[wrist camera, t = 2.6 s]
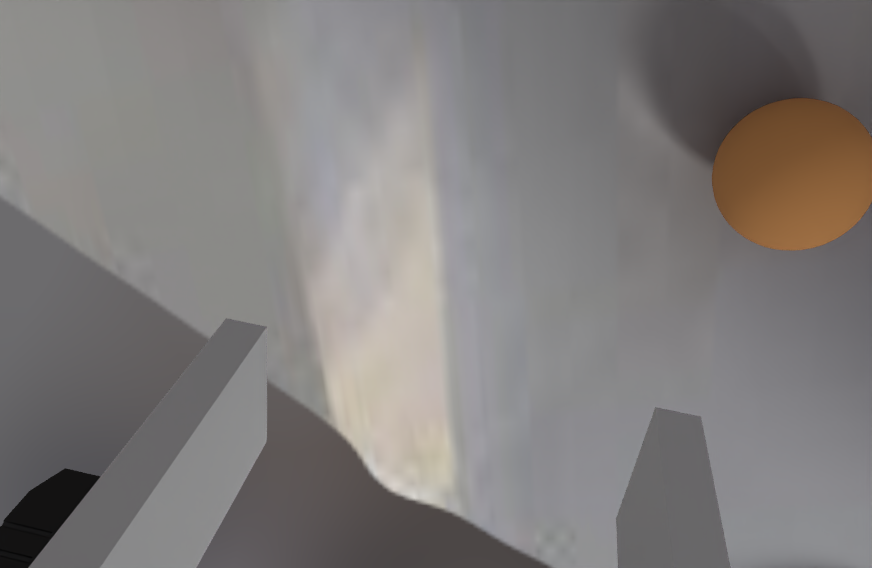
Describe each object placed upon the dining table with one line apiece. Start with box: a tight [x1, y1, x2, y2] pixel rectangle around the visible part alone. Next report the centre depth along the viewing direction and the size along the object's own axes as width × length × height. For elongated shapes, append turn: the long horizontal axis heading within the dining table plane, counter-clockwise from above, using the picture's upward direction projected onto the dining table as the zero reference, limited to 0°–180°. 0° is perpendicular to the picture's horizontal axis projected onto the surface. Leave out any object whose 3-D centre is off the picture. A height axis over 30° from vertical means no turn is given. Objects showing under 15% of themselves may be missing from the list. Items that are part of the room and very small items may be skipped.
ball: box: [712, 98, 872, 250], centre depth 27 cm, size 6×6×6 cm
